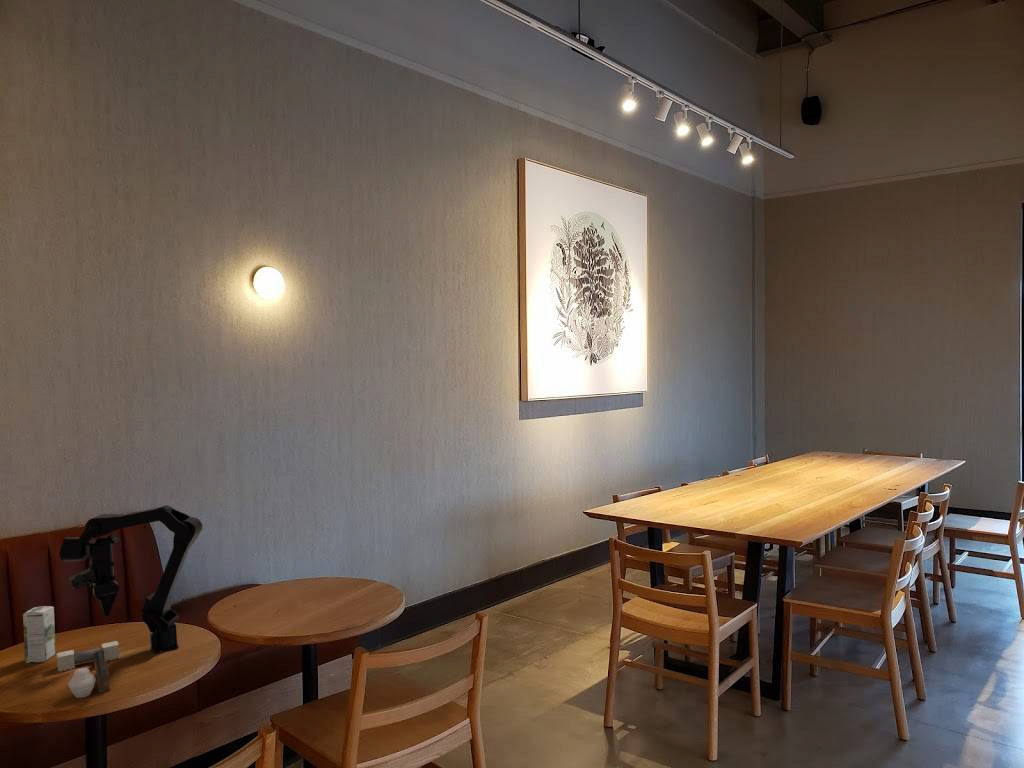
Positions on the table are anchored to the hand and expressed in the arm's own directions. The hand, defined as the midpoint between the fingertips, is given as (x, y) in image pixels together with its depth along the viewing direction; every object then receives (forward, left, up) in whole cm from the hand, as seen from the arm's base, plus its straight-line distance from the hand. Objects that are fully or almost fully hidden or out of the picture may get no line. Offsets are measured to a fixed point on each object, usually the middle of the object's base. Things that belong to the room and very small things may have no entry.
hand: (105, 611), depth 220 cm
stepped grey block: (+3, +26, -7) cm, 27 cm away
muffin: (+8, +30, -12) cm, 34 cm away
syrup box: (+17, -7, -12) cm, 22 cm away
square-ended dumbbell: (+5, +6, -12) cm, 14 cm away
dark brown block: (+3, +20, -12) cm, 24 cm away
